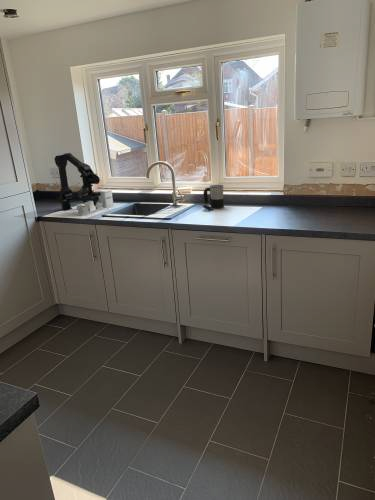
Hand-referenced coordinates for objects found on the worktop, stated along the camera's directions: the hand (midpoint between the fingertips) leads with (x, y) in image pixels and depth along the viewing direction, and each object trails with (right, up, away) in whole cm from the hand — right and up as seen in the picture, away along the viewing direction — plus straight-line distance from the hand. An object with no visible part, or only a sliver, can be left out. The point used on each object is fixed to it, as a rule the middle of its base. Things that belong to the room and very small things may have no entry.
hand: (90, 205), depth 283 cm
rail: (0, -4, +1) cm, 4 cm away
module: (0, -3, +1) cm, 3 cm away
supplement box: (+9, 0, +14) cm, 17 cm away
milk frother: (+86, -4, -15) cm, 88 cm away
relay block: (-11, -1, +15) cm, 19 cm away
